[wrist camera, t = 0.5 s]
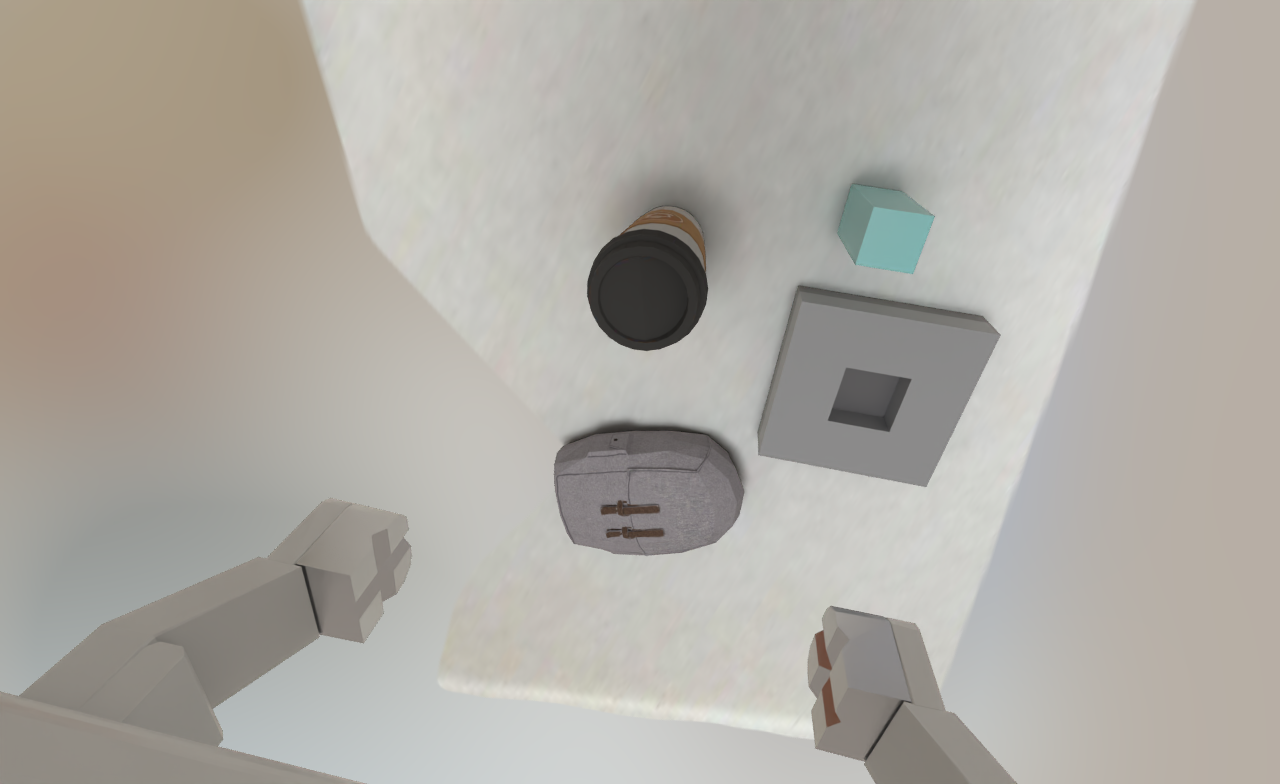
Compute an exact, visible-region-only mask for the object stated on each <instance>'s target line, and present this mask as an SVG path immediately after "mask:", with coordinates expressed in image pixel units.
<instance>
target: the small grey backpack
mask: <svg viewBox="0 0 1280 784" xmlns="http://www.w3.org/2000/svg"><path fill="white" fill-rule="evenodd" d="M554 484H555V492H556V497H557V502H558V507H559V512H560V516H561V518H562V521H563V524H564V526H565V529H566V532H567V534H568V535H569V537H570V539H571V540H572V542H573V543H574V544H578V545H583V546H588V547H593V548H598V549H603V550H606V551H609V552H611V553H613V554H628V555H645V556H648V555H659V554H671V553H682V552H686V551H689V550H692V549H696V548H699V547H703V546H706V545H709V544H713V543H716V542H717V541H718V540H719V539H720V538H721V537H722V536H723V535H724V534H725V533H726V532H727V531H728V530H729V529H730V528H731V527H732V526H733V524H734V523H735V521H736V520H737V518H738V516H739V514H740V510H741V505H742V500H743V496H744V489H743V486H742V484H741V481H740V478H739V476H738V473H737V471H736V468H735V466H734V464H733V463H732V461H731V459H730V457H729V454H728V452H727V451H726V450H724V449H723V448H722V447H721V446H720V445H718V444H717V443H716V442H715V441H714V440H712V439H711V438H710V437H709V436H708V435H703V434H694V433H686V432H678V431H627V432H616V433H604V434H595V435H592V436H589V437H587V438H584V439H581V440H578V441H575V442H573V443H570V444H567V445H564V446H563V447H562V448H561V449H560V450H559V451H558V453H557V456H556V460H555V464H554Z"/></svg>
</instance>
